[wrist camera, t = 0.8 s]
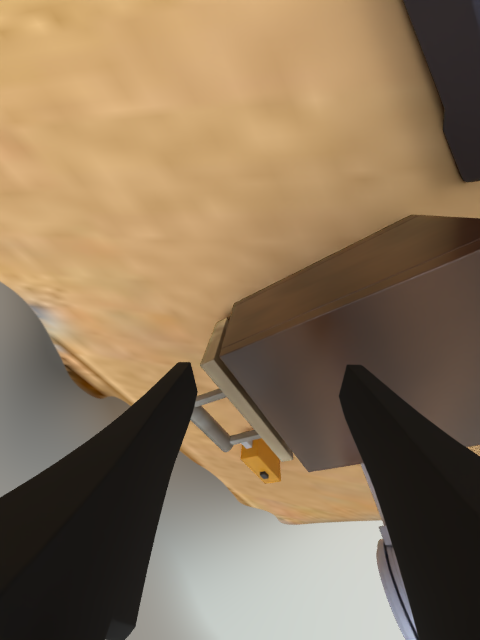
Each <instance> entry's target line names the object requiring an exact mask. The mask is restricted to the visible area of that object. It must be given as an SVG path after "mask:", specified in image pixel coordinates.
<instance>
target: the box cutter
mask: <svg viewBox="0 0 480 640" xmlns="http://www.w3.org/2000/svg"><path fill="white" fill-rule="evenodd" d="M241 444H242V449H241V460H242V461H243V462H244V463H245V464H246V465H247V466H248V467H249V468H250V469H251V470H252V471H253V472H254V473H255V474H256V475H257V476H258V477H259V478H260V479H261V480H262V481H263V482H264V483H265V484H266V483H273V482H280V481H281V474H280V460H279V458H278V457H277V456H276V454H275V453H274V452H273V451H272V450H271V449H270V447H269V446H268V445H267V444H266V443H265V441H264V440H263V439H262V438H260V439H256V440H252V441H247V442H243V443H241Z"/></svg>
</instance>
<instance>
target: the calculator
mask: <svg viewBox="0 0 480 640" xmlns="http://www.w3.org/2000/svg"><path fill="white" fill-rule="evenodd" d="M403 2H404V4H405V7H406V10H407V12H408V15H409V17H410V20H411V23H412V25H413V28H414V30H415V33H416V36H417V38H418V41H419V43H420V46H421V49H422V51H423V54H424V56H425V59H426V62H427V64H428V67H429V69H430V72H431V75H432V77H433V80H434V82H435V85H436V88H437V90H438V93H439V96H440V98H441V101H442V104H443V106H444V110H445V111H444V124H443V131H444V134H445V137H446V139H447V142H448V144H449V147H450V149H451V152H452V154H453V157H454V159H455V162H456V164H457V167H458V169H459V172H460V174H461V177H462V179H463V181H465V182H474V181H480V0H403Z"/></svg>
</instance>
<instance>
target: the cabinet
mask: <svg viewBox="0 0 480 640" xmlns="http://www.w3.org/2000/svg"><path fill="white" fill-rule="evenodd" d="M219 357H220V359H221V360H222V361H223V362H224V364H225V365H226V366H227V368H228V369H229V370H230V371H231V373H232V374H233V375H234V377H235V378H236V379H237V380H238V382H239V383H240V384H241V386H242V387H243V388H244V389H245V391H246V392H247V393H248V395H249V396H250V397H251V398H252V400H253V401H254V402H255V404H256V405H257V406H258V408H259V409H260V410H261V411H262V413H263V414H264V415H265V417H266V418H267V419H268V420H269V422H270V423H271V424H272V426H273V427H274V428H275V429H276V431H277V432H278V433H279V435H280V436H281V437H282V438H283V440H284V441H285V442H286V444H287V445H288V446H289V448H290V449H291V450H292V451H293V453H294V454H295V455H296V457H297V458H298V459H299V460H300V462H301V463H302V464H303V466H304V467H305V468H306V469H307V471H308V472H312V471H319V470H325V469H331V468H337V467H344V466H350V465H356V464H362V463H363V460H362V458H361V456H360V453H359V451H358V449H357V446H356V444H355V441H354V439H353V437H352V434H351V432H350V429H349V427H348V425H347V422H346V420H345V417H344V413H343V410H342V407H341V403H340V399H339V393H340V389H341V385H342V381H343V377H344V374H345V370H346V366H347V365H362V366H364V367H365V368H366V369H367V370H369V371H370V372H371V373H372V374H373V375H374V376H376V377H377V378H378V379H379V380H380V381H382V382H383V383H384V384H385V385H386V386H387V387H389V388H390V389H391V390H392V391H393V392H395V393H396V394H397V395H398V396H399V397H401V398H402V399H403V400H404V401H405V402H407V403H408V404H409V405H410V406H412V407H413V408H414V409H415V410H417V411H418V412H419V413H420V414H422V415H423V416H424V417H426V418H427V419H428V420H430V421H431V422H432V423H434V424H435V425H436V426H437V427H439V428H440V429H441V430H443V431H444V432H445V433H447V434H448V435H450V436H451V437H452V438H454V439H455V440H456V441H458V442H459V443H461V444H462V445H464V446H465V447H469V446H475V445H480V219H479V218H461V217H443V216H425V215H410V216H408V217H406V218H404V219H402V220H400V221H398V222H396V223H394V224H392V225H390V226H388V227H386V228H384V229H382V230H380V231H378V232H376V233H374V234H372V235H370V236H368V237H366V238H364V239H362V240H360V241H358V242H356V243H354V244H352V245H350V246H348V247H346V248H344V249H342V250H340V251H338V252H336V253H334V254H332V255H330V256H328V257H326V258H324V259H322V260H320V261H318V262H316V263H314V264H312V265H310V266H308V267H306V268H304V269H302V270H300V271H298V272H296V273H294V274H292V275H290V276H288V277H286V278H284V279H282V280H280V281H278V282H276V283H274V284H272V285H270V286H268V287H266V288H264V289H262V290H260V291H258V292H256V293H254V294H252V295H250V296H248V297H246V298H244V299H242V300H240V301H238V302H236V303H234V305H233V309H232V313H231V316H230V320H229V323H228V327H227V330H226V334H225V338H224V341H223V345H222V349H221V353H220V356H219Z"/></svg>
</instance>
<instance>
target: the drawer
mask: <svg viewBox="0 0 480 640" xmlns="http://www.w3.org/2000/svg"><path fill="white" fill-rule="evenodd" d="M228 323H229V321H228V319H227V318H225V319H223V320H221V321H219V322H217V323H216V325H215V327H214V330H213V333H212V335H211V338H210V340H209V343H208V346H207V348H206V351H205V353H204V356H203V359H202V361H201V364H200V366H201V367H202V368H203V370H204V371H205V372H206V373H207V374H208V376H209V377H210V378H211V379H212V380H213V381H214V383H215V384H216V385H217V386H218V387H219V388H220V389H217V390H214V391H211V392H208V393H206V394H203V395H200V396H197V397H196V401H195V406H194V410H193V413H192V416H191V419H190V420H191V421H192V422H193V423H194V424H195V425H196V426H197V427H198V428H200V429H201V430H202V431H203V432H204V433H205V434H206V435H207V436H208V437H209V438H210V439H211V440H212V441H213V442H214V443H215V444H216V445H217V446H218V447H219V448H220V449H221V450H222V451H224V452H228V451H229V450H231V448H232V447H233V445H235V444H239V443H243V442H247V441H252V440H256V439H260V438H262V439H263V440H264V441H265V443H266V444H267V445H268V446H269V447H270V449H271V450H272V451H273V452H274V453H275V454H276V456H277V457H278V458H279V459H280V460H281V461H282V462H283V461H289V460H293V453H292V450H291V449H290V448H289V446H288V445H287V444H286V442H285V441H284V440H283V438H282V437H281V436H280V435H279V433H278V432H277V431H276V429H275V428H274V427H273V426H272V424H271V423H270V422H269V420H268V419H267V418H266V417H265V415H264V414H263V413H262V411H261V410H260V409H259V408H258V406H257V405H256V404H255V402H254V401H253V400H252V398H251V397H250V396H249V395H248V393H247V392H246V391H245V389H244V388H243V387H242V386H241V384H240V383H239V382H238V380H237V379H236V378H235V377H234V375H233V374H232V373H231V371H230V370H229V369H228V368H227V366H226V365H225V364H224V362H223V361H222V360H221V359H220V357H219V356H220V353H221V349H222V345H223V341H224V338H225V334H226V330H227V327H228ZM225 397H227V398H228V399H229V400H230V401H231V403H232V404H233V405H234V406H235V407H236V408H237V410H238V411H239V412H240V413H241V414H242V416H243V417H244V418H245V419H246V420H247V421H248V423H249V424H250V425H251V426H252V427H253V429H254V430H252V431H248V432H244V433H240V434H236V435H232V436H230V435H229V434H228V433H227V432H226V431H225V430H224V429H223V428H222V427H221V426H220V425H219V424H218V423H217V422H216V421H215V419H214V418H213V417H212V416H211V415H210V414H209V413H208V412H207V411H206V410H205V409H204V408H203V407H202V406H201V405H204V404H207V403H210V402H213V401H216V400H219V399H222V398H225Z"/></svg>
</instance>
